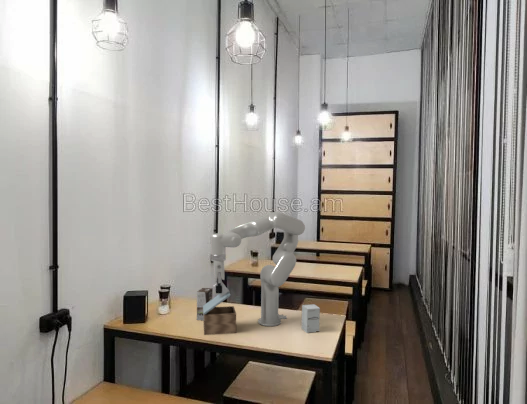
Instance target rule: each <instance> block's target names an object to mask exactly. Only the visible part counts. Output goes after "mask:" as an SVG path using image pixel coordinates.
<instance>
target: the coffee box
mask: <svg viewBox="0 0 527 404" xmlns="http://www.w3.org/2000/svg"><path fill="white" fill-rule="evenodd" d="M213 288H214V287H213ZM213 288H212V287H202V288H201V289H198V291H196V320H197V321H203V322H204V313H203V305H205V304H206V303H208V302H209V301H210V300H212V299H213Z"/></svg>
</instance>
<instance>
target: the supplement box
mask: <svg viewBox="0 0 527 404" xmlns="http://www.w3.org/2000/svg"><path fill="white" fill-rule="evenodd" d="M320 313H321V308H320V307H319V306H318V305H316V304H315V303H314V304H313V303H312V304H301V330H302V331H304V332H305V333H306V334H309V333H317V332H316V331H319V332H320V320H321V319H320V317H321V314H320Z"/></svg>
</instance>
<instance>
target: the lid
mask: <svg viewBox="0 0 527 404" xmlns="http://www.w3.org/2000/svg"><path fill="white" fill-rule="evenodd" d="M212 287H213V288H214V290H215V291H216V283H215V284H213V286H212ZM229 297H231V292H230V290H229V288H228V287H226V285H225V284H224V282H223V281H222V293H217V295H216V296H214V297H212V300H210V301H209V302H208V303H206V304H205V305H203V313H204V315H205V314H206V313H208V312H209V311H210V310H212V309H213V308H214V307H218V306H219V305H220V304H222V302H224V301H225V300H227V299H228V298H229Z"/></svg>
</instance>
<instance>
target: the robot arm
mask: <svg viewBox="0 0 527 404" xmlns="http://www.w3.org/2000/svg"><path fill="white" fill-rule="evenodd" d="M273 229H278V230H281V231H283V239H282V241H281V243H280V245H279V246H278V247H277V249H276V250H275V252H274V254H273V255H272V261H273V264H275V266H274V265H271V264H265V266H264V265H263V267H262V268H261V270H260V275H259V276H260V285H261V287H260V288H261V290H260V291H261V292H260V293H261V294H260V299H261V301H260V303H261V304H260V318H259V319H257V323H258V324H259V325H261V326H264V327H276V326H279V325H280V324H282V321H281V320H287V319H288V317H287V315H284V314H279V287H281V286H283V284H285V283H286V281H288V280H287V279H288V278H289V277H290V275H291V273H292V272H293V270H294V268H295V266H296V264H297V257H296V255H295V254H294V252H295V250H296V249H297V246H298V244H299V236H300V235H302V234H303V233H304V232H305V231H306V230H305V229H306V225H305V223H304V222H303V221H302V220H300V219H298V218H295V217H293V216H290V215H288V214H285V213H283V212H276V211H272V212H269V213H267V214H264V215H263V216H261V217H258V218H256V219H254V220H252V221H249V222H246V223H243V224H240V225H238V226H236V227H233V228H231V229H229V230H227V231H225V232H224V233H212V234H211V235H210V261H211V262H212V263H213V275H214V276H213V277H214V280H215V284H216V290H215V294H218V293H222V282H223V281H225V278H226V277H225V261H226V258H227V257H226V256H227V254H226V248H237V247H239V246H240V245H241V243H242V240H243V239H245V238H246V239H247V238H250V237H253V238H254V237H258V236H261V235H262V234H264V233H266V232H269V231H271V230H273ZM222 280H223V281H222Z"/></svg>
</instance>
